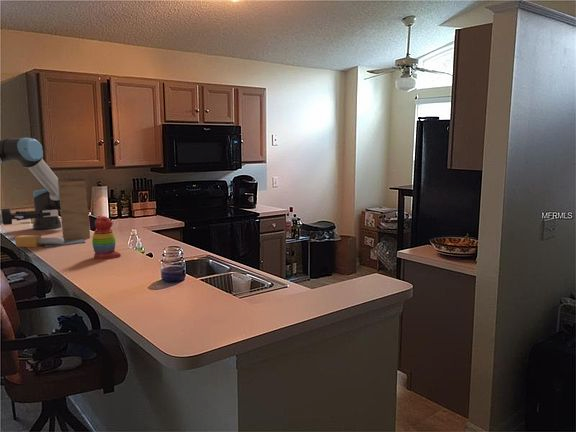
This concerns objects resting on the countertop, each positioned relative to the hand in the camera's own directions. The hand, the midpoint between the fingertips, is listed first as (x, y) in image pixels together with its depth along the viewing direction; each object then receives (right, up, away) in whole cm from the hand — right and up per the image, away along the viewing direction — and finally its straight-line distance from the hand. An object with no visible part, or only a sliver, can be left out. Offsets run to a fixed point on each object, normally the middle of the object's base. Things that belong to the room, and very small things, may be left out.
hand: (57, 212), depth 232 cm
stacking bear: (+34, -20, -26) cm, 47 cm away
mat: (+2, -15, +4) cm, 16 cm away
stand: (+2, -13, +16) cm, 21 cm away
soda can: (0, -12, +28) cm, 31 cm away
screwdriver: (-9, -11, -1) cm, 15 cm away
